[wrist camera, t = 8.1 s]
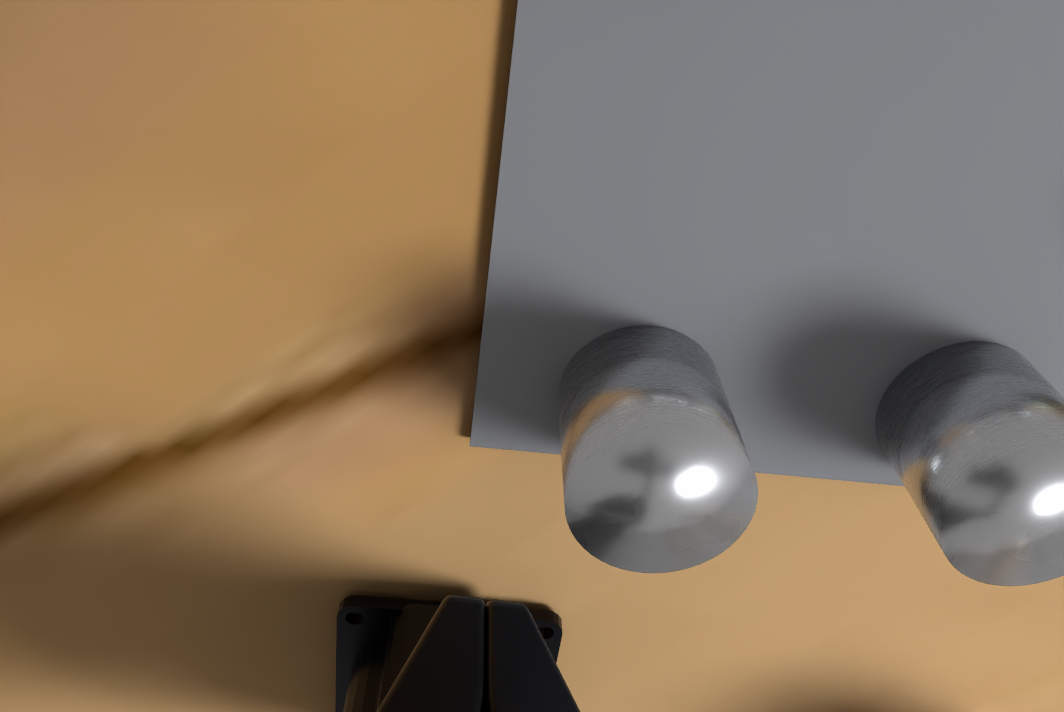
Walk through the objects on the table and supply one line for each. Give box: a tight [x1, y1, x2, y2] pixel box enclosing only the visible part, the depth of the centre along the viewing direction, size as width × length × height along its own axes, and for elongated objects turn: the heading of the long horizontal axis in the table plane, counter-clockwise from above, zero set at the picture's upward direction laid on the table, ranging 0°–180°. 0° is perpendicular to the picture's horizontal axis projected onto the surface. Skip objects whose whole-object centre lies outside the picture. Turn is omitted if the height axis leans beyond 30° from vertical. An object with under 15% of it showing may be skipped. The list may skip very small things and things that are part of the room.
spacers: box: [558, 325, 1064, 586], centre depth 17 cm, size 18×14×4 cm
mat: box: [470, 0, 1064, 486], centre depth 19 cm, size 18×21×1 cm
